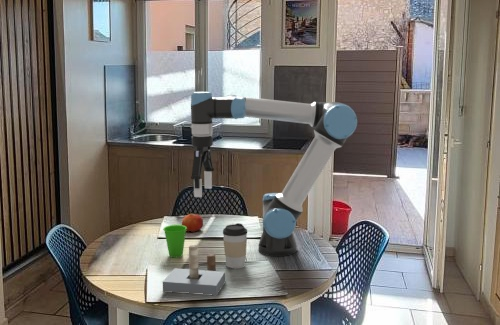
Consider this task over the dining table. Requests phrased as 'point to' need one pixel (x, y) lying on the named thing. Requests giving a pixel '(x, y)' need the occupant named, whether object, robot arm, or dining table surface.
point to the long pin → (193, 262)
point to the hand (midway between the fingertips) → (203, 192)
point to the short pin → (211, 262)
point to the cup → (175, 239)
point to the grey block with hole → (194, 281)
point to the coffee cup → (235, 245)
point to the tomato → (193, 222)
